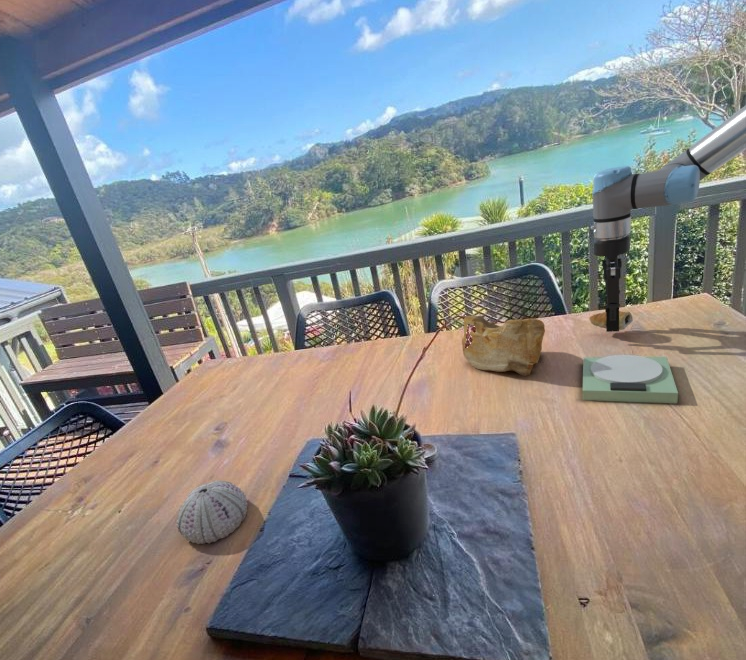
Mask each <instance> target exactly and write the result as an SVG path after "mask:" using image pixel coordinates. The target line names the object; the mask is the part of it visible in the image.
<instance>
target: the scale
mask: <svg viewBox="0 0 746 660" xmlns="http://www.w3.org/2000/svg"><path fill="white" fill-rule="evenodd" d="M582 363H583V365H582V401H599V402H624V403H625V402H627V403H628V402H629V403H655V404H657V403H658V404H678V401H679V400H678V399H679V392H678V388H677V386H676V381H675V378H674V376H673V373H672V370H671V367H670V363H669V359H668V357H667V356H641V355H634V354H614V355H607V356H584V357H583V358H582Z"/></svg>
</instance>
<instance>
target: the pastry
mask: <svg viewBox="0 0 746 660" xmlns="http://www.w3.org/2000/svg"><path fill="white" fill-rule="evenodd" d="M633 320H634V318H633V315H632V313H631V312H630V311H627V312H626V311H621V310H619V331H624V330H625V329H627V328H628V327H629V325H630V324H632V323H633ZM589 321H590V324H592V325H593V326H595V327H599V328H602V329H606V312H605V311H604V312H599V313H595V314H593V315H591V316H590V317H589Z"/></svg>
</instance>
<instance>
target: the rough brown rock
mask: <svg viewBox="0 0 746 660" xmlns="http://www.w3.org/2000/svg"><path fill="white" fill-rule="evenodd" d="M467 324H471V325H474V326H475V328H476V332H475V333H473V332H472V331H471V332H470V335H471V336H472V338H473V341H472V343H471V344H470V345H469V347H468V348H465V347H464V345H465V342H466V332H467V329H468V328H467ZM545 327H546V326H545V323H544V322H543V321H542V320H540V319H538V318H533V317H532V318H524V319H518V318H517V319H516V318H515V319H508V320H506V321H504V323H503V325H502V326H501V325H498V324H496V323H494V322H491V321H488V320H487V319H486V318H484V317H483V316H482V315H473V314H471V315H467V316H465V317H464V318H463V336H462V338H461V347H462V353H463V356H464V358H465V359H466V361H467V362H468V364H469V365H471V366H472V367H473V368H475V369H477V370H480V371H492V372H498V373H502V372H504V373H505V372H508V371H511V372H515V373H516V374H518V375H520V376H525V377H527V376H530V375H531V372H532V370H533V369H534V365H535V364H538V363H539V360H540V358H541V353H542V349H543V346H542V345H543V340H544V336H545V333H546V329H545Z"/></svg>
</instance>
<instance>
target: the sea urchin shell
mask: <svg viewBox="0 0 746 660" xmlns="http://www.w3.org/2000/svg"><path fill="white" fill-rule="evenodd" d="M246 496H247V494H245V491H243V490H241V487H238V486H236V484H235V483H234V484H233V482H230V481H226V480H214V481H212V482H209V483H205V484H200V485H199V486H197V487H195V488H194V489H193V490H192V491H190V492H189V493H188V495H187V497H186V499H185V500H184V502H182V505H181V506H180V509H179V510H178V511H179V512H178V514H177V520H176V522H175V523H176V528H177V532H179V534H180V535H181V536H182V537H183V538H185V539H186V541H190V542H191V543H192V544H197V545H200V544H201V545H205V544H206V543H207V544H209V545H210V544H211V543H215V542H217V541H218V540H221V539H225V538H226V537H229V535H230V534H232V533H234V532H235V530H237V528H238V527H239V526H241V523H242V522H243V521H244V520H245V518H246V515H247V513H248V510H247V509H248V502H247V501H248V499H247V497H246Z"/></svg>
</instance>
